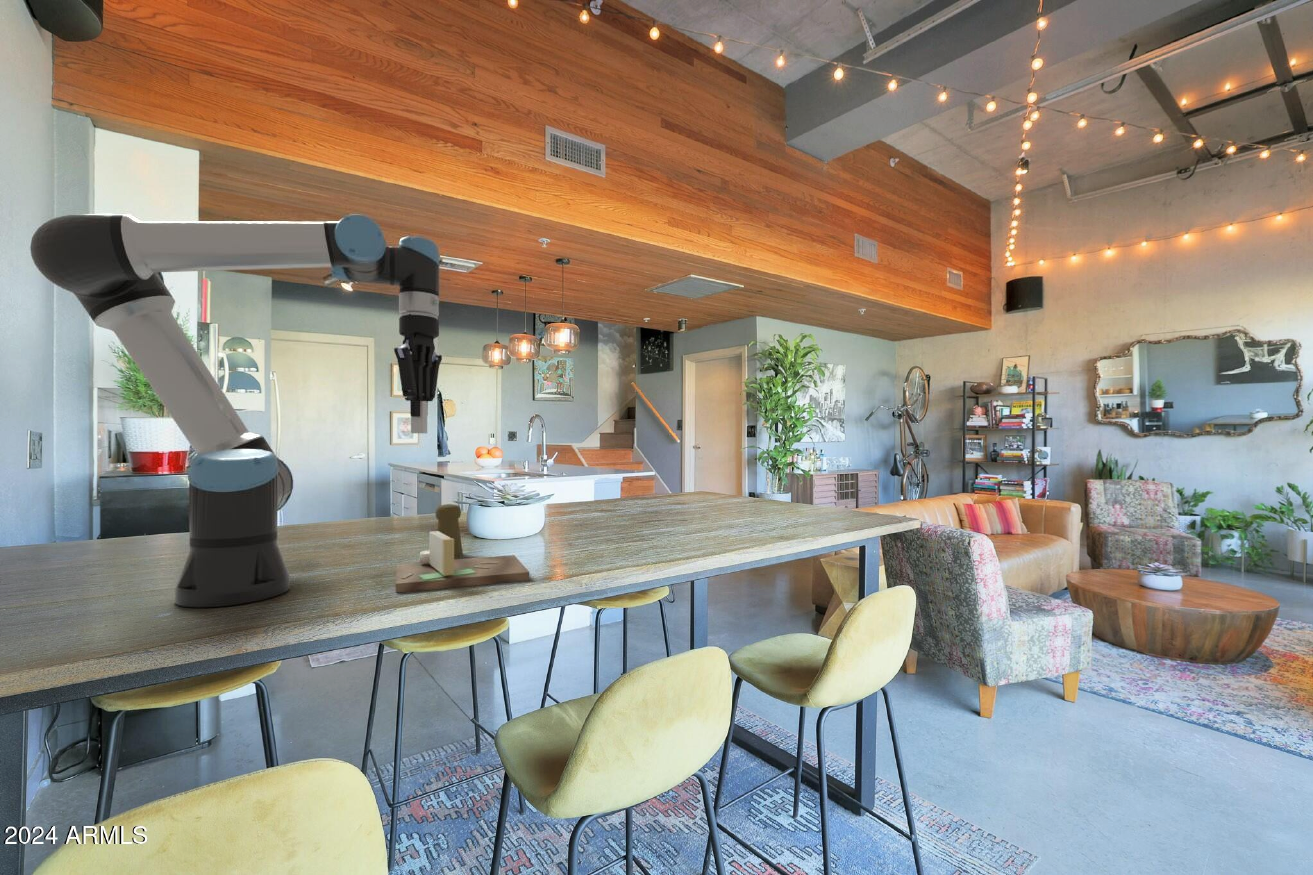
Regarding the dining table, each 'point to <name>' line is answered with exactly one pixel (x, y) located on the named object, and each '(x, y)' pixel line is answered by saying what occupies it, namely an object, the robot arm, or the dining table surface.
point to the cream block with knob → (439, 553)
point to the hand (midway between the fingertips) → (419, 433)
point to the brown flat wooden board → (460, 573)
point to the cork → (450, 525)
